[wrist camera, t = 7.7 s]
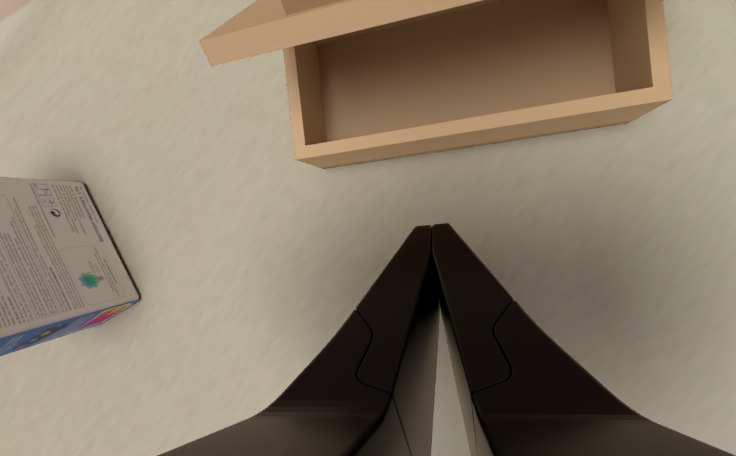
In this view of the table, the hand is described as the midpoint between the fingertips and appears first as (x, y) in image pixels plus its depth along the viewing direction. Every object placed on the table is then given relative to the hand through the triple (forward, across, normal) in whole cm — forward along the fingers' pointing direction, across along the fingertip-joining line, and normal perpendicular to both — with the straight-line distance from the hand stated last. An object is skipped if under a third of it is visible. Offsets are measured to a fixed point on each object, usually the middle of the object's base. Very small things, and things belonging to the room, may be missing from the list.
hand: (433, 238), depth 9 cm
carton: (+14, -1, 0) cm, 14 cm away
